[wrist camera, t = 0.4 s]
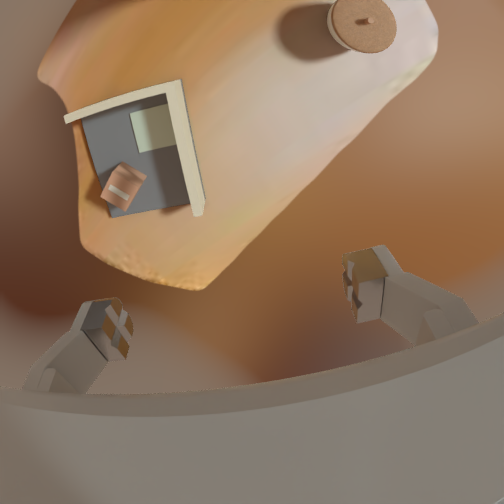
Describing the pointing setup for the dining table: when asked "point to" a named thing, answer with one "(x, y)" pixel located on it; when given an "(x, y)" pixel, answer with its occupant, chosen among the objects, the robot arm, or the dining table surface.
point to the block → (123, 186)
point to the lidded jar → (362, 25)
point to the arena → (146, 146)
